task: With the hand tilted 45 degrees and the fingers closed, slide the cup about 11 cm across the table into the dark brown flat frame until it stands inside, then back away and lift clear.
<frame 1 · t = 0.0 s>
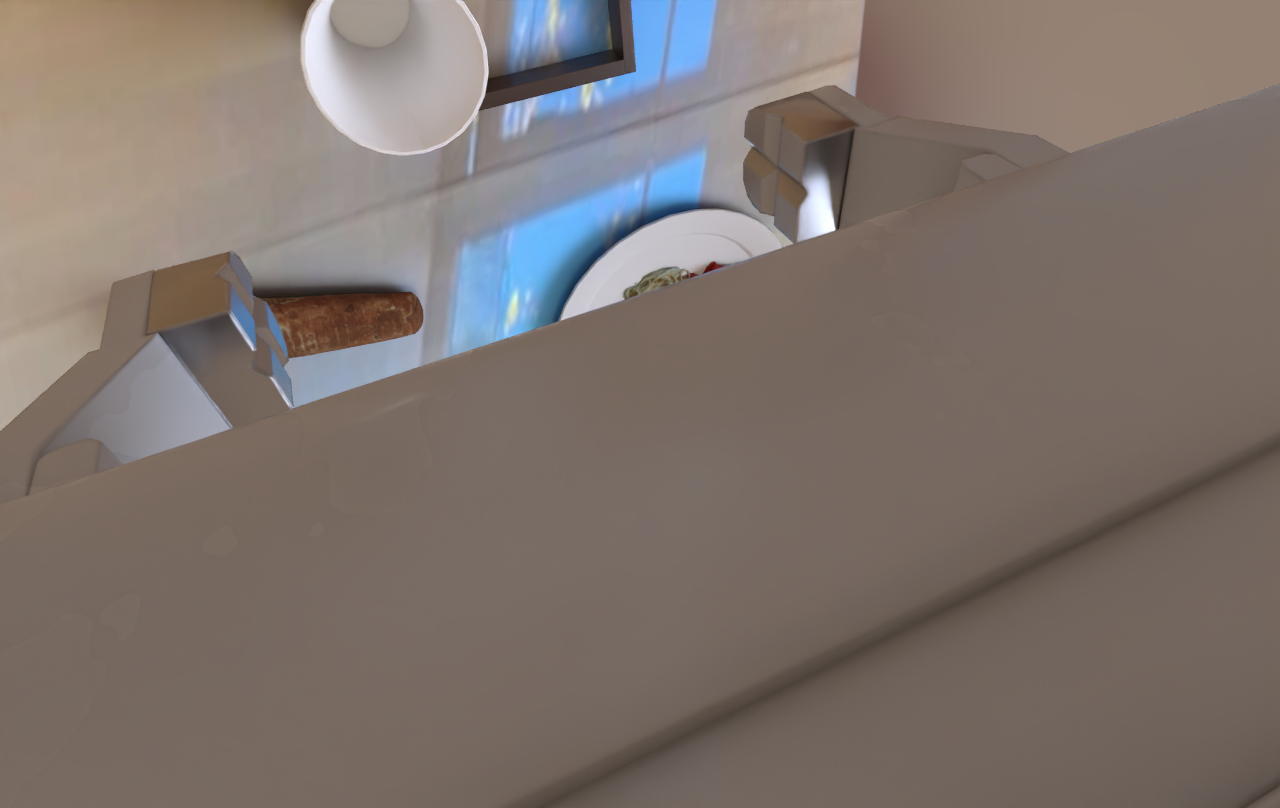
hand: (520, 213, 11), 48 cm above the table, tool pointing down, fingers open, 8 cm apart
cup: (366, 2, 49), on the table
plated food: (670, 319, 82), on the table
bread: (308, 303, 62), on the table
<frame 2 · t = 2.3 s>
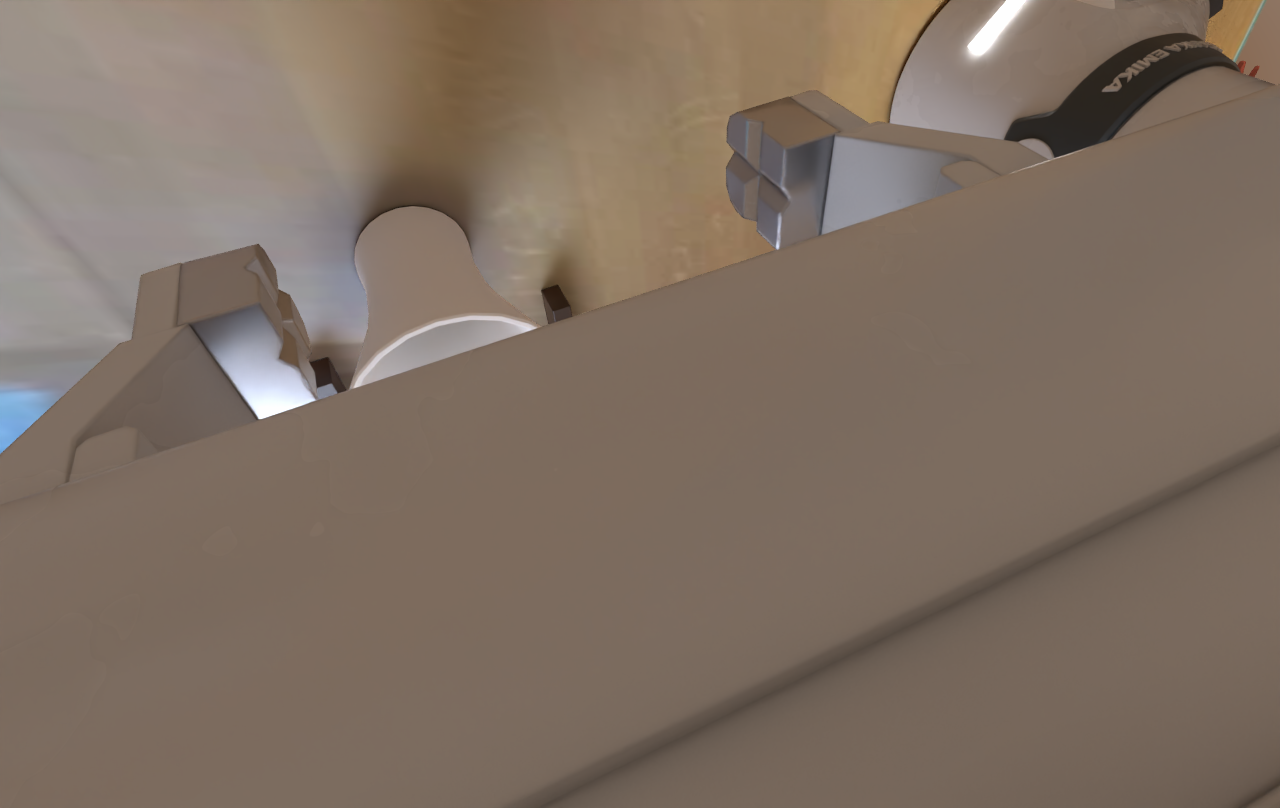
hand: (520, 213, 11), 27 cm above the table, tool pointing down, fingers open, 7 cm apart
cup: (413, 255, 41), on the table
dark brown flat frame: (464, 392, 49), on the table
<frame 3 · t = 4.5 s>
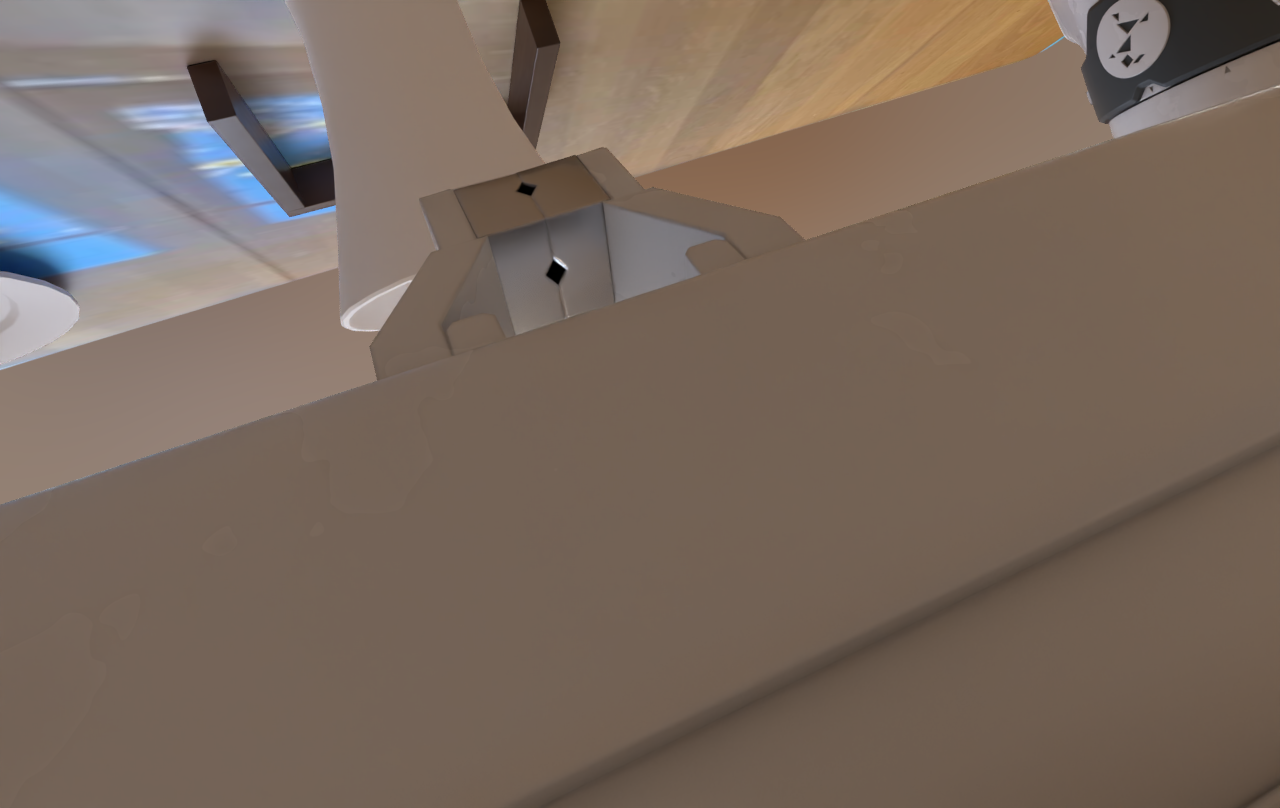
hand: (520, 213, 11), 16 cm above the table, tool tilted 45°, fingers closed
dark brown flat frame: (391, 93, 38), on the table
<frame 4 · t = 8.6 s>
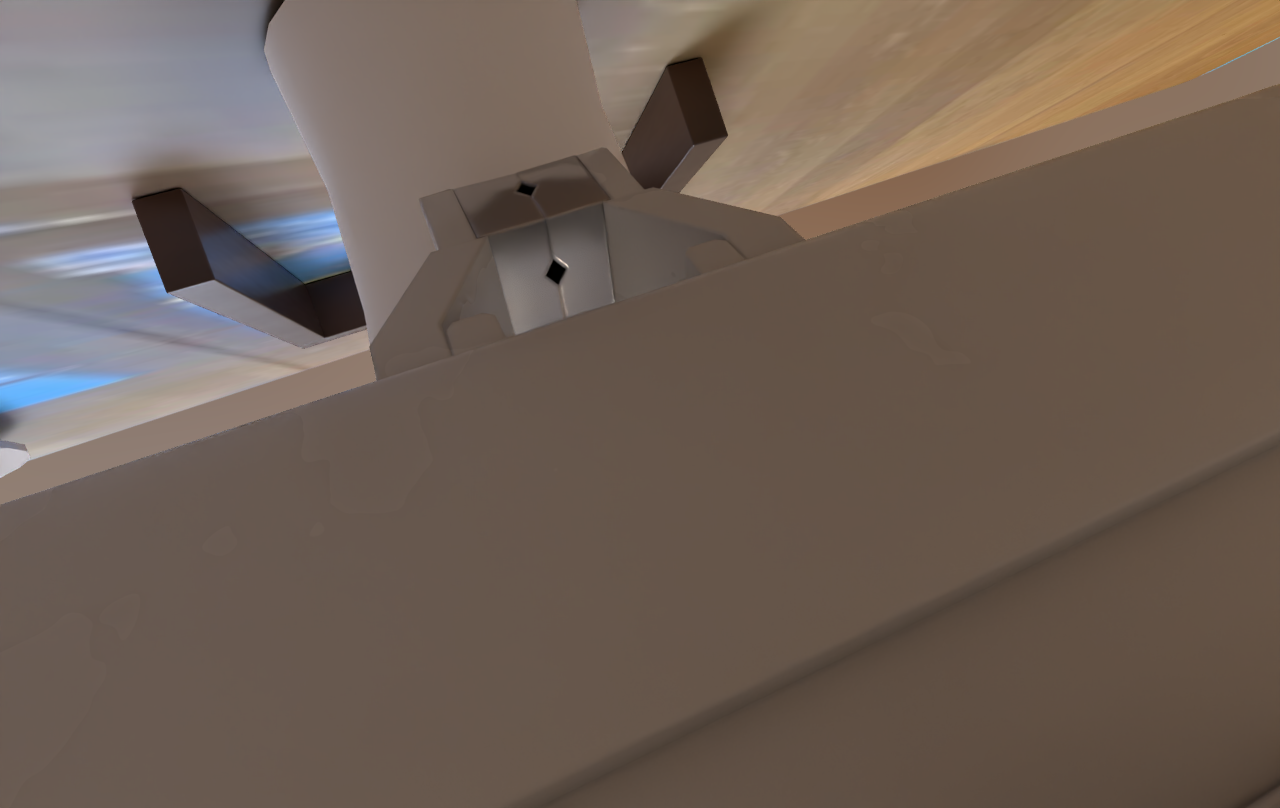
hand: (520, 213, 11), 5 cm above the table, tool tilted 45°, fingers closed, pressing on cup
cup: (423, 22, 15), on the table, touching gripper
dark brown flat frame: (452, 195, 26), on the table
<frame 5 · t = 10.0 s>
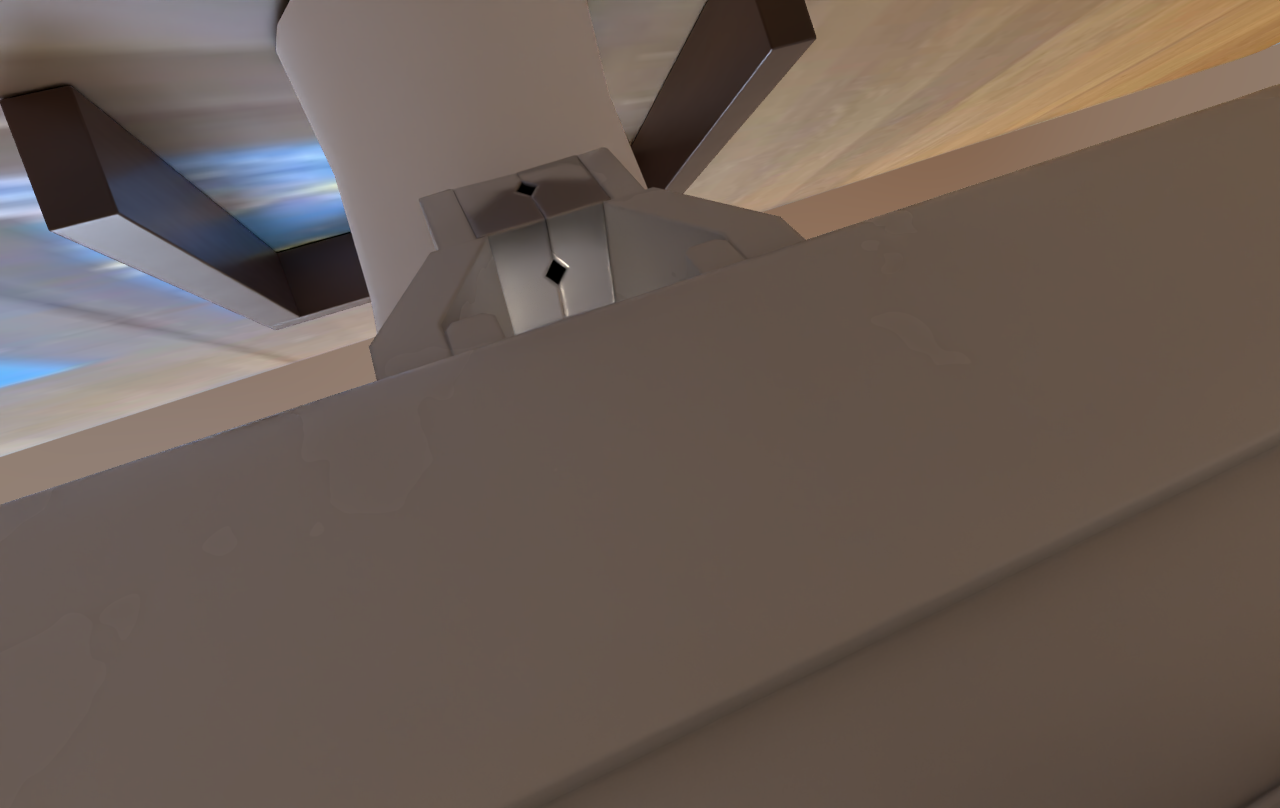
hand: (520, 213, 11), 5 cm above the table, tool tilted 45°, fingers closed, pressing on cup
cup: (432, 16, 15), on the table, touching gripper
dark brown flat frame: (452, 134, 21), on the table
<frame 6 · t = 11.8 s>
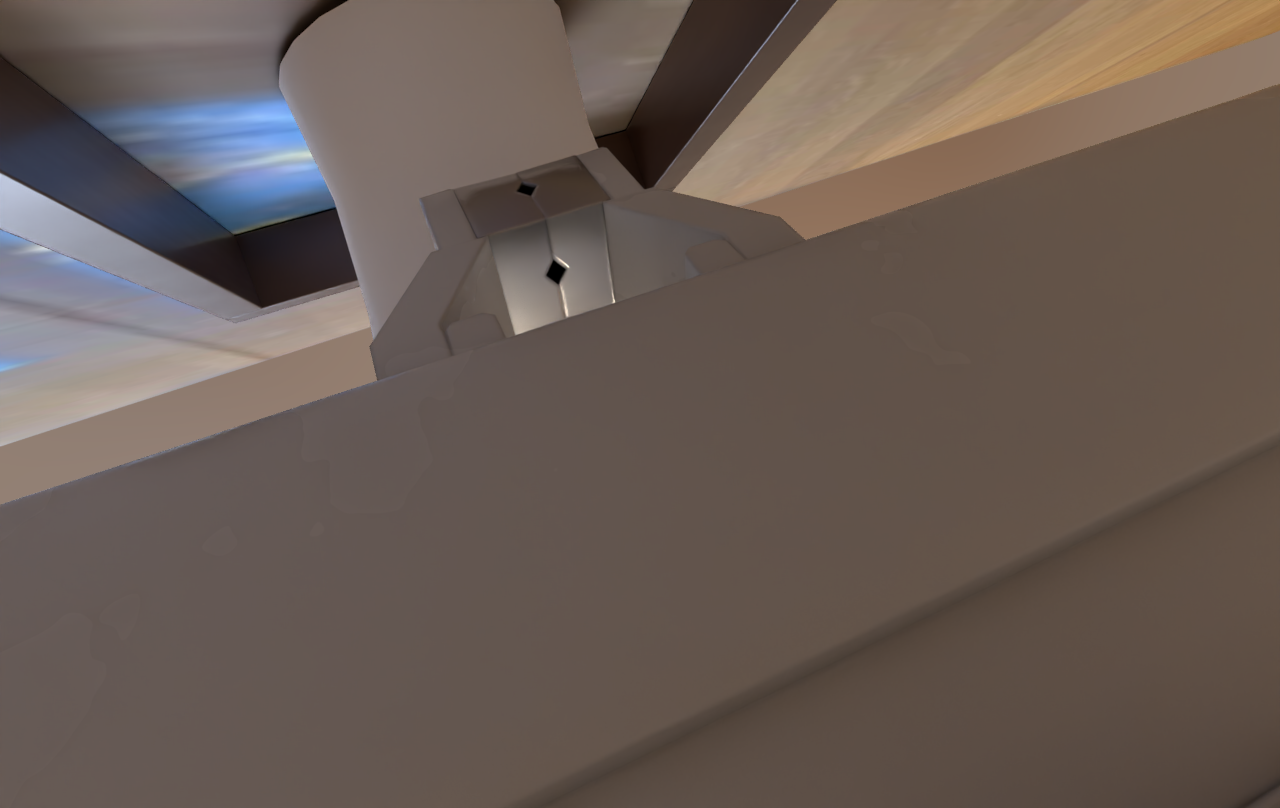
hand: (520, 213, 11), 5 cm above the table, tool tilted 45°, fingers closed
cup: (423, 49, 16), on the table
dark brown flat frame: (431, 94, 18), on the table
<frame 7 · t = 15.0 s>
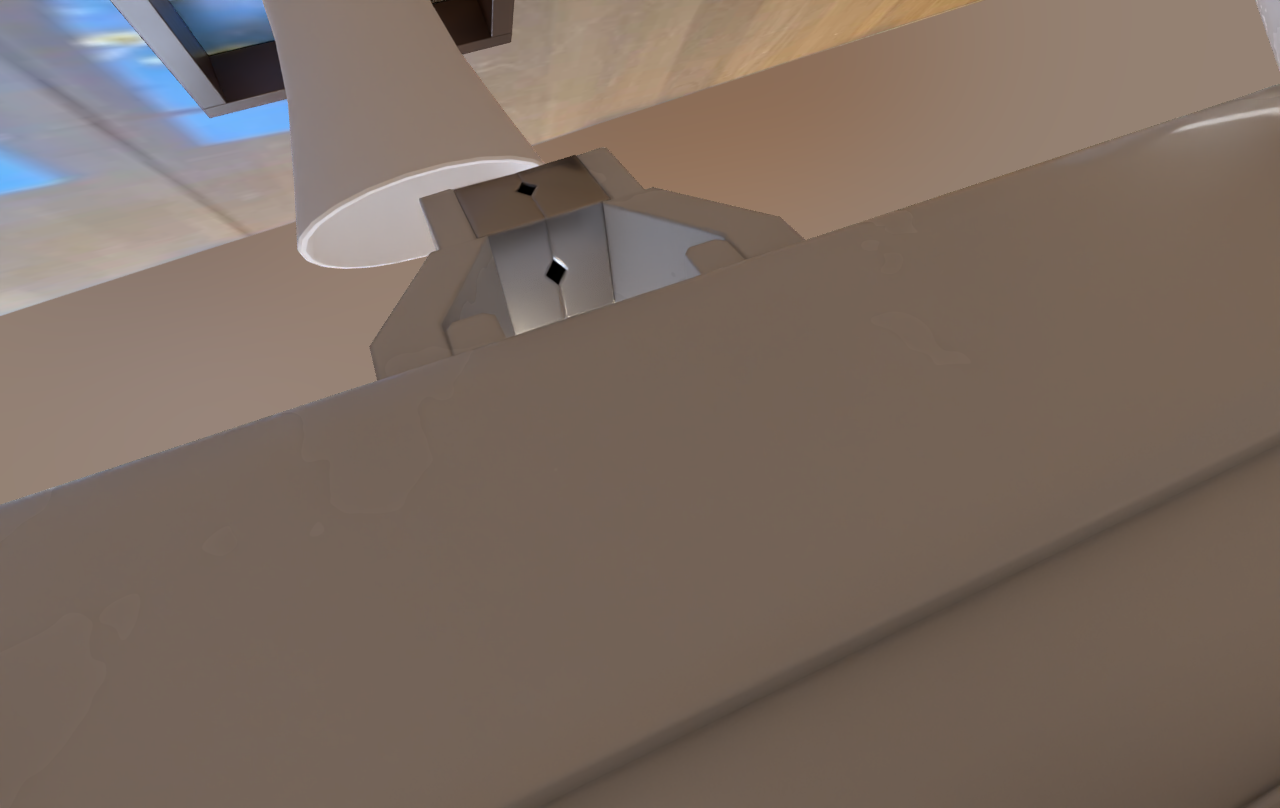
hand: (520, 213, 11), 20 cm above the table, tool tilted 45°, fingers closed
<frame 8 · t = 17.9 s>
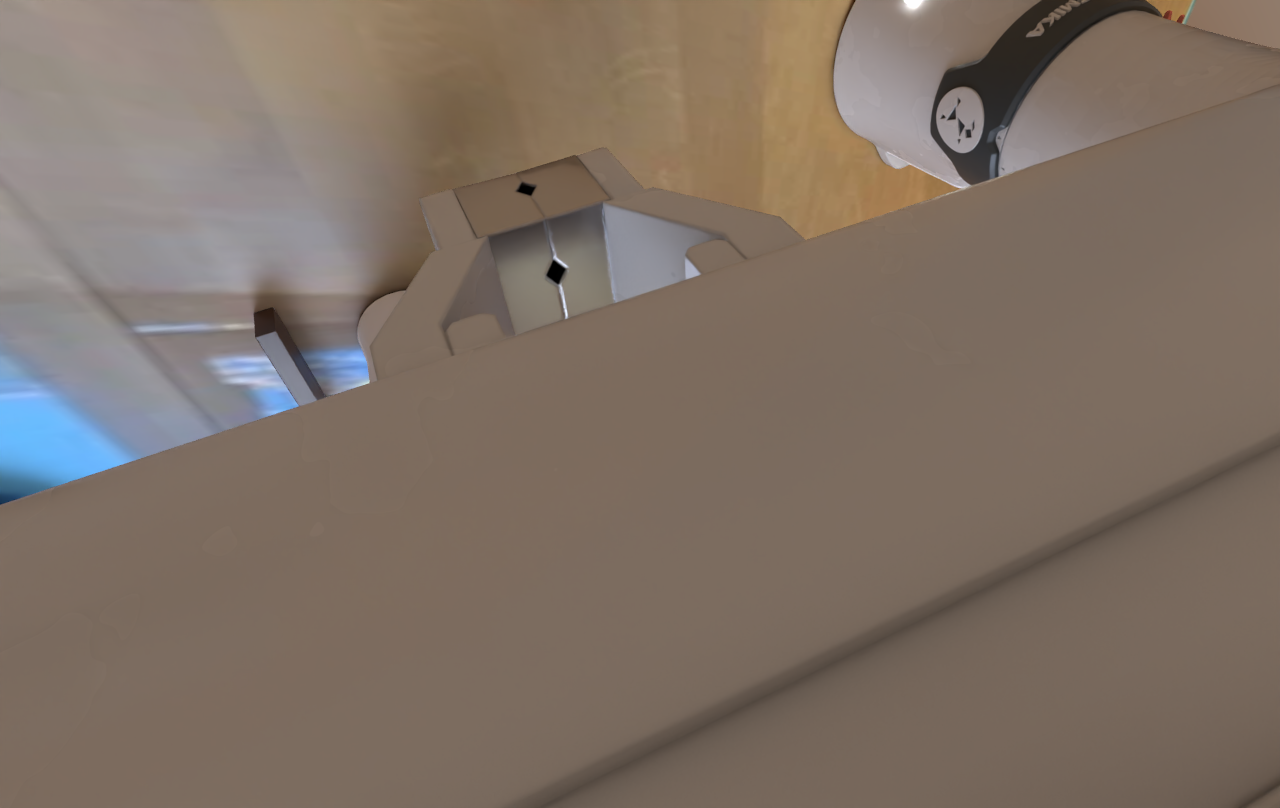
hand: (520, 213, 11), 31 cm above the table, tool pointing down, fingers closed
cup: (406, 327, 48), on the table
dark brown flat frame: (415, 349, 50), on the table
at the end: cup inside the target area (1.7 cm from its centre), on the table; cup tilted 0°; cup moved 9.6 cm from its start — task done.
